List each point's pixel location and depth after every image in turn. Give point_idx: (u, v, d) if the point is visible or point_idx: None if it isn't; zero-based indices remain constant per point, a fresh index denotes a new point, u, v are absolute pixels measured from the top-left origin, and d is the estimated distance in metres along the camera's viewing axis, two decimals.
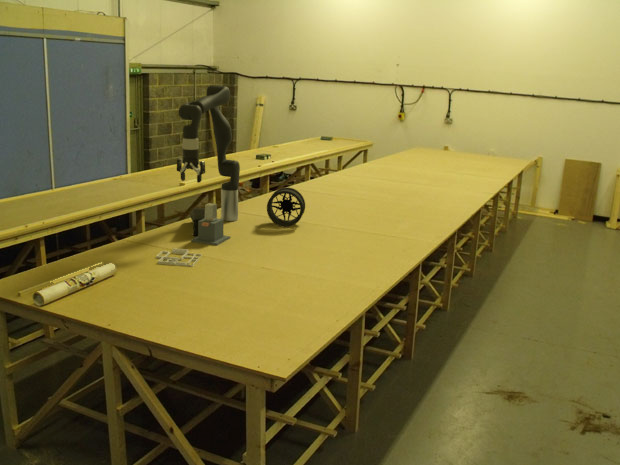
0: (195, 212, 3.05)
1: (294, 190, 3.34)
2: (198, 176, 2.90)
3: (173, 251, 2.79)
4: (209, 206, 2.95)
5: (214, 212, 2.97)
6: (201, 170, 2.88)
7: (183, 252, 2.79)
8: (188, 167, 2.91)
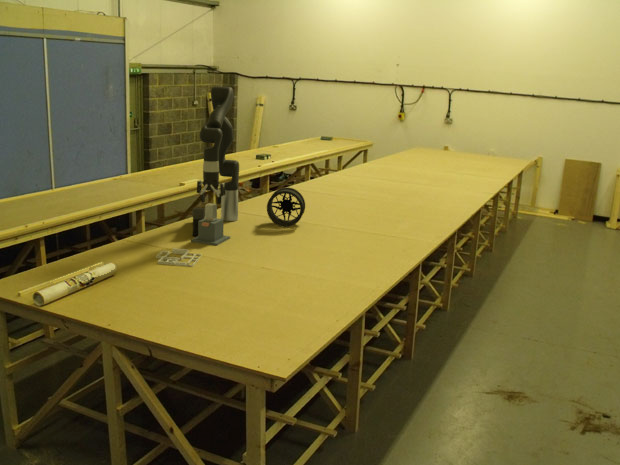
0: (194, 212, 3.05)
1: (294, 190, 3.34)
2: (218, 198, 2.94)
3: (173, 251, 2.79)
4: (209, 206, 2.95)
5: (214, 212, 2.97)
6: (221, 192, 2.92)
7: (183, 252, 2.79)
8: (208, 189, 2.95)
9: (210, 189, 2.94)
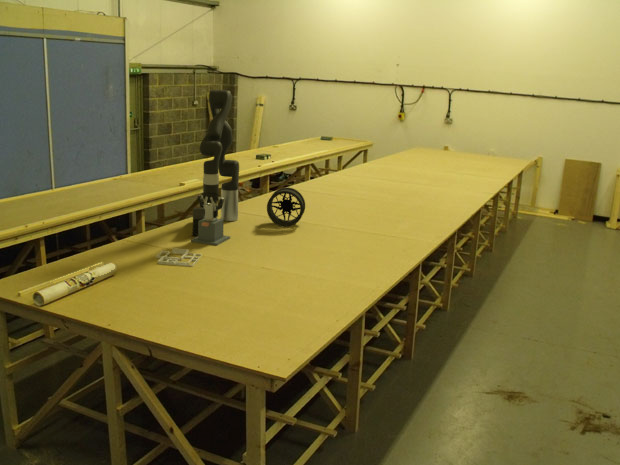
0: (194, 212, 3.05)
1: (294, 190, 3.34)
2: (215, 212, 2.97)
3: (173, 251, 2.79)
4: (209, 206, 2.95)
5: None
6: (218, 206, 2.95)
7: (183, 252, 2.79)
8: (209, 201, 2.96)
9: (210, 201, 2.96)
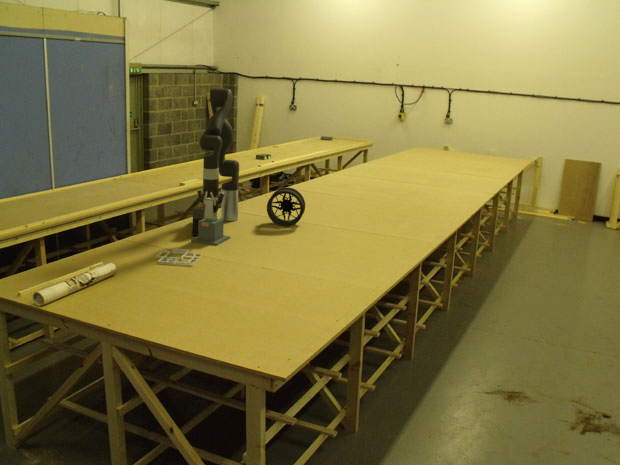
0: (194, 212, 3.05)
1: (294, 190, 3.34)
2: (215, 206, 2.96)
3: (173, 251, 2.79)
4: (209, 201, 2.95)
5: None
6: (218, 201, 2.94)
7: (183, 252, 2.79)
8: (209, 196, 2.95)
9: (210, 196, 2.95)
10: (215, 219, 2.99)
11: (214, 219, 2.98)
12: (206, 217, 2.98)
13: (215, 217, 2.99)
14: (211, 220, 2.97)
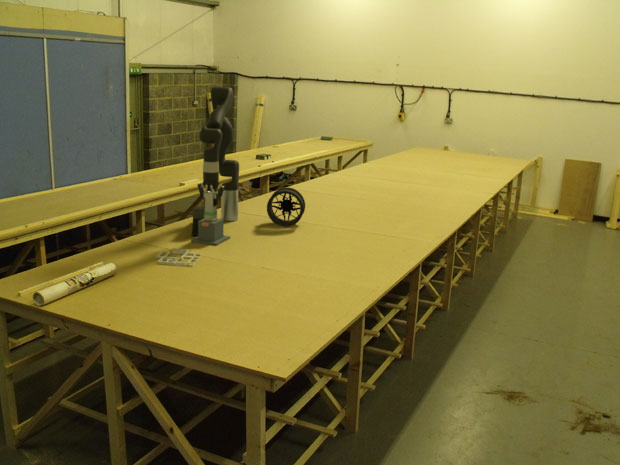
0: (194, 211, 3.05)
1: (294, 190, 3.34)
2: (215, 200, 2.95)
3: (173, 251, 2.79)
4: (209, 194, 2.94)
5: None
6: (218, 194, 2.93)
7: (183, 252, 2.79)
8: (209, 189, 2.94)
9: (210, 189, 2.94)
10: (215, 212, 2.98)
11: (214, 212, 2.97)
12: (206, 211, 2.97)
13: (215, 210, 2.98)
14: (211, 213, 2.96)
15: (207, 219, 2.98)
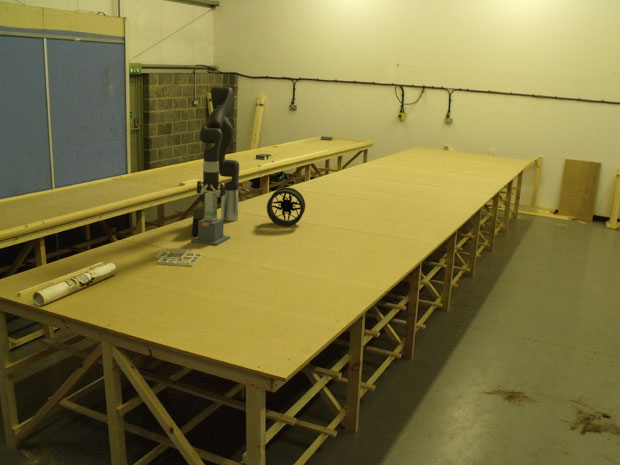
0: (194, 211, 3.06)
1: (294, 190, 3.34)
2: (218, 198, 2.94)
3: (173, 251, 2.79)
4: (209, 194, 2.94)
5: (214, 200, 2.96)
6: (221, 192, 2.92)
7: (183, 252, 2.79)
8: (208, 189, 2.95)
9: (210, 189, 2.94)
10: (215, 212, 2.98)
11: (214, 212, 2.97)
12: (205, 210, 2.97)
13: (215, 210, 2.98)
14: (211, 213, 2.96)
15: (207, 219, 2.98)
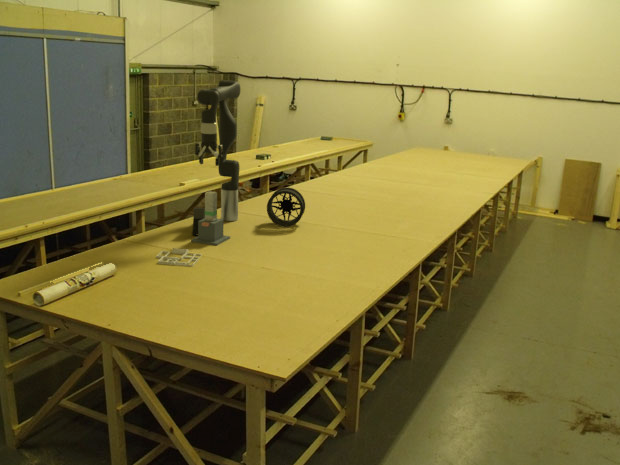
0: (195, 211, 3.06)
1: (294, 190, 3.34)
2: (216, 159, 2.99)
3: (173, 251, 2.79)
4: (209, 194, 2.94)
5: (214, 200, 2.96)
6: (219, 154, 2.97)
7: (183, 252, 2.79)
8: (206, 151, 2.99)
9: (208, 151, 2.99)
10: (215, 212, 2.98)
11: (214, 212, 2.97)
12: (205, 210, 2.97)
13: (215, 210, 2.98)
14: (211, 213, 2.96)
15: (207, 219, 2.98)
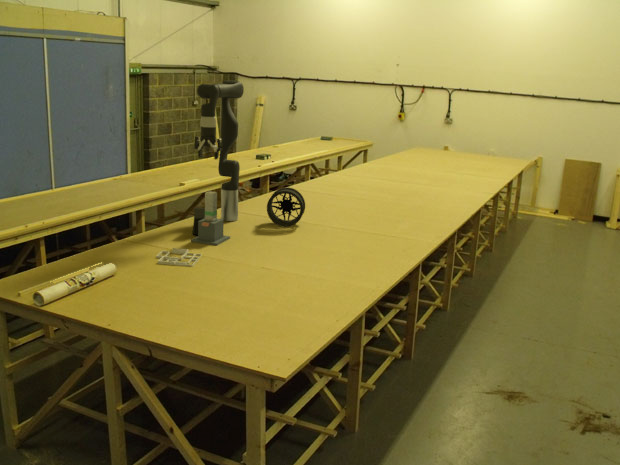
0: (195, 211, 3.07)
1: (294, 190, 3.34)
2: (215, 153, 3.02)
3: (173, 251, 2.79)
4: (209, 194, 2.94)
5: (214, 200, 2.96)
6: (218, 147, 3.00)
7: (183, 252, 2.79)
8: (206, 144, 3.03)
9: (207, 144, 3.02)
10: (215, 212, 2.98)
11: (214, 212, 2.97)
12: (205, 210, 2.97)
13: (215, 210, 2.98)
14: (211, 213, 2.96)
15: (207, 219, 2.98)
